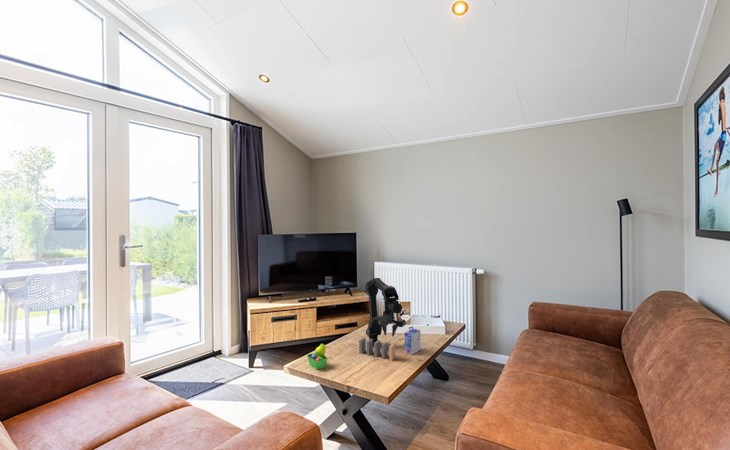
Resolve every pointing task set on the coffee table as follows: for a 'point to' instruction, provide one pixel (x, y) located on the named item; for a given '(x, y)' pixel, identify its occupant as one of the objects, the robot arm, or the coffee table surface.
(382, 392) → the coffee table surface
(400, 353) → the coffee table surface
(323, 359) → the fruit basket
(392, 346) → the domino
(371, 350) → the domino
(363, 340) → the domino
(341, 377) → the coffee table surface
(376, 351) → the domino
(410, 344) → the ink cartridge box
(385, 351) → the domino
